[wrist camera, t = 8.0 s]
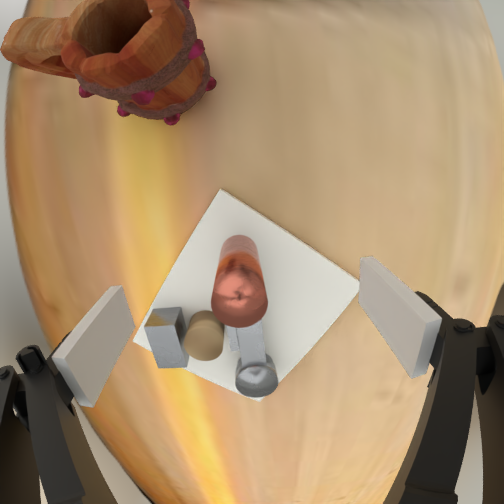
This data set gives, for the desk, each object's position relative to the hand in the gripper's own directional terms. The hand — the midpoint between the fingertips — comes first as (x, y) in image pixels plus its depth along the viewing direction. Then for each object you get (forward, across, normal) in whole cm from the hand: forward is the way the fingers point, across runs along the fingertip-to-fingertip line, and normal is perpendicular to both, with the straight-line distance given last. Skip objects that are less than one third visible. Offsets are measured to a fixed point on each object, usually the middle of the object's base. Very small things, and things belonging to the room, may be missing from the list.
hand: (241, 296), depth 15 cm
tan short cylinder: (+11, -5, -9) cm, 15 cm away
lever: (+10, 0, -8) cm, 13 cm away
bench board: (+12, -1, -8) cm, 15 cm away
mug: (+13, -7, +16) cm, 22 cm away
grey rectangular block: (+11, -8, -9) cm, 16 cm away
